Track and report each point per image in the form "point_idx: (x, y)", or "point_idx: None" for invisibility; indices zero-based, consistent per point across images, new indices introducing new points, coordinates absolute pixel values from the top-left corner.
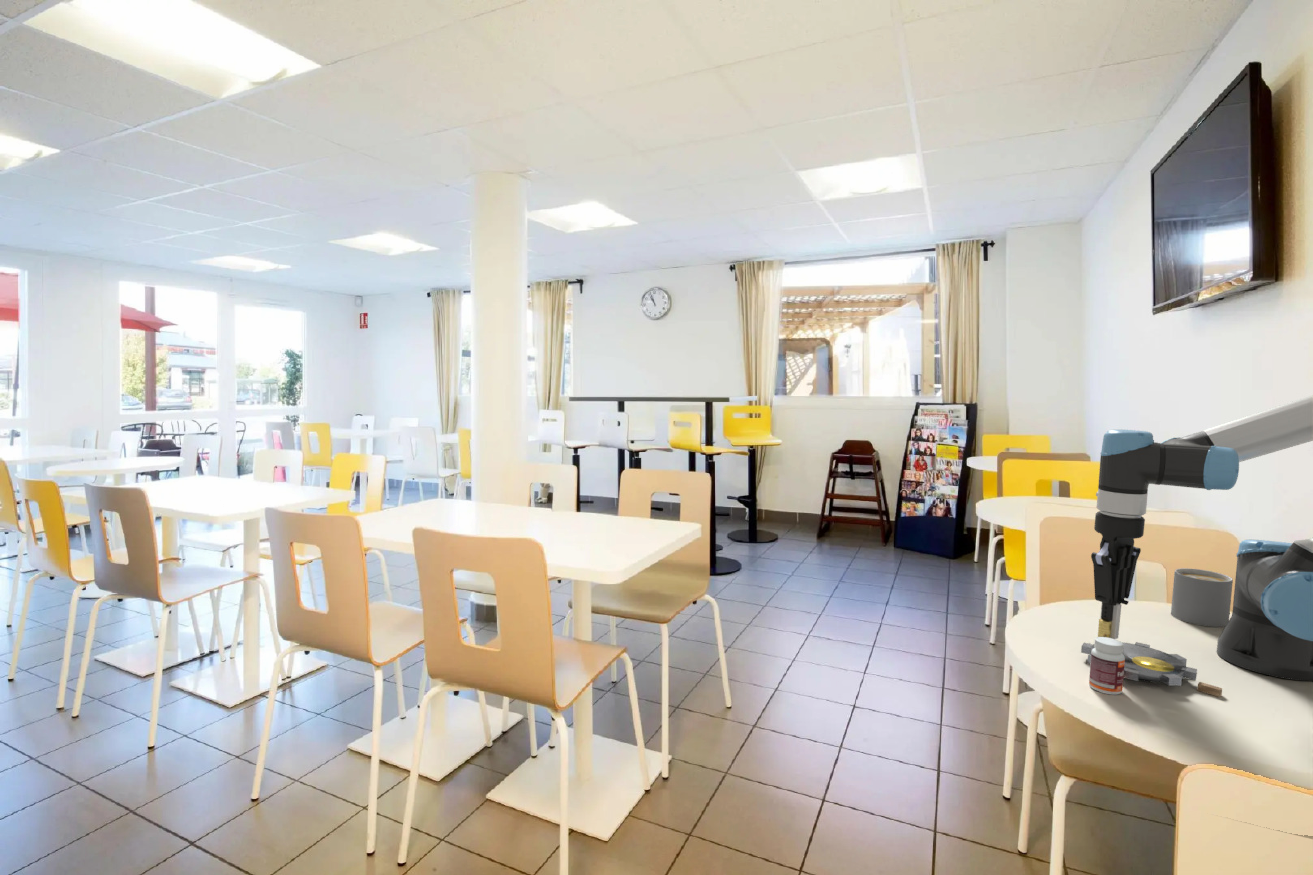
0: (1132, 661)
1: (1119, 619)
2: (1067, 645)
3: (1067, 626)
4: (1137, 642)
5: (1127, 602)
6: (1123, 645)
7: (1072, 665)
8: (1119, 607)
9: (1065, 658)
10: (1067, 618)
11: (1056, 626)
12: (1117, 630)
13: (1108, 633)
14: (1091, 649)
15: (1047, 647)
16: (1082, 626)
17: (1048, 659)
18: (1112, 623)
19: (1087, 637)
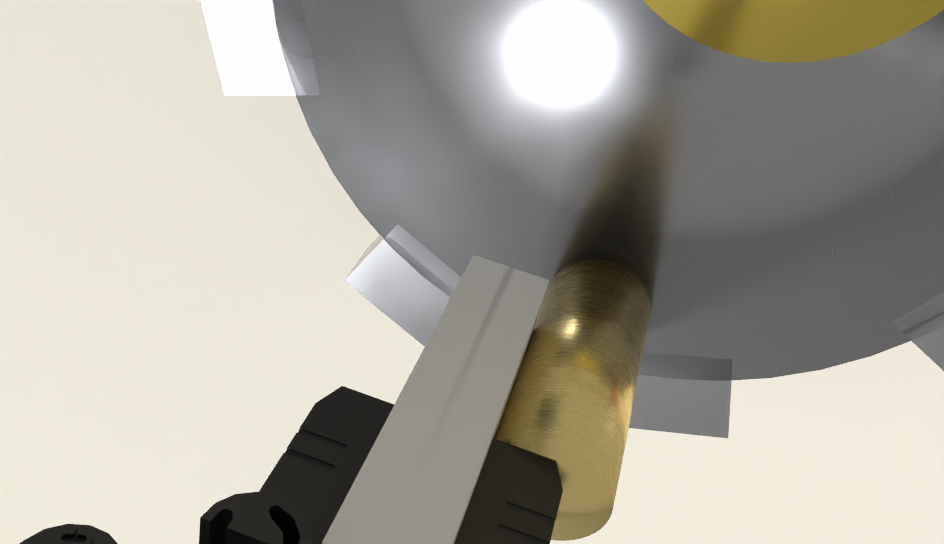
0: (883, 47)
1: (418, 391)
2: None
3: (137, 448)
4: (227, 82)
5: (243, 515)
6: (420, 171)
7: (935, 395)
8: (390, 532)
9: (797, 438)
10: (6, 452)
11: (198, 494)
12: (476, 315)
13: (614, 371)
14: (772, 375)
15: (646, 528)
16: (51, 382)
17: (913, 522)
18: (501, 412)
19: (220, 348)
